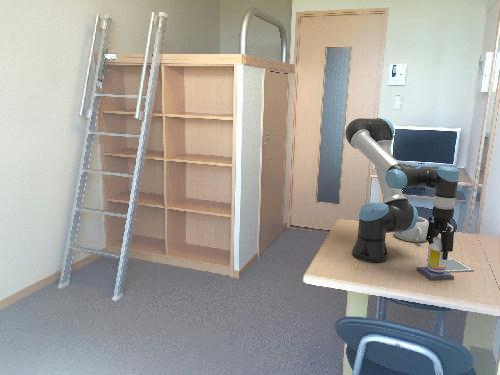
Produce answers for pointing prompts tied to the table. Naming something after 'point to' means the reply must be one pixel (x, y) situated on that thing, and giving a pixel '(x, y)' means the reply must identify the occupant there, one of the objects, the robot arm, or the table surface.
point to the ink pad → (435, 274)
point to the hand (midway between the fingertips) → (436, 262)
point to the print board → (456, 266)
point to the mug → (415, 232)
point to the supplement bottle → (435, 255)
